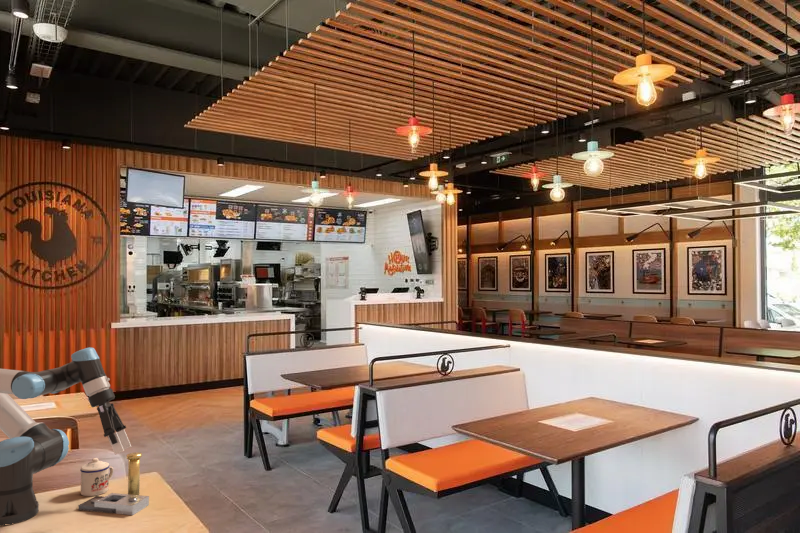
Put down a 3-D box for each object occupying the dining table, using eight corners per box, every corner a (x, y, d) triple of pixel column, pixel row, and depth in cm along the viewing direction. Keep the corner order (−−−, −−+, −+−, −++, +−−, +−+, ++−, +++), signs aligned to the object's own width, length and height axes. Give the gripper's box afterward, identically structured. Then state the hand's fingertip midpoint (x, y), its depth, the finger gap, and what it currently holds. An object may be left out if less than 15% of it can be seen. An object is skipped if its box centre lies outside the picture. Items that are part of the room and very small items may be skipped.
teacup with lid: (92, 498, 191) (93, 464, 192) (73, 494, 195) (74, 460, 195) (121, 486, 203) (122, 454, 203) (103, 483, 206) (103, 451, 206)
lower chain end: (78, 509, 182) (78, 503, 182) (96, 500, 190) (96, 494, 190) (116, 513, 179) (116, 507, 179) (132, 503, 187) (132, 497, 187)
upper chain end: (94, 511, 181) (94, 500, 181) (111, 501, 188) (112, 491, 188) (132, 515, 178) (132, 504, 178) (148, 505, 186) (148, 494, 186)
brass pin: (122, 496, 193) (123, 456, 193) (132, 491, 197) (132, 451, 198) (135, 498, 192) (135, 456, 192) (144, 492, 196) (144, 452, 197)
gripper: (102, 387, 178) (128, 449, 177) (118, 387, 202) (140, 441, 200) (78, 398, 176) (103, 460, 174) (96, 396, 199) (119, 451, 198)
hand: (123, 450), depth 187 cm, fingers open, 13 cm apart
